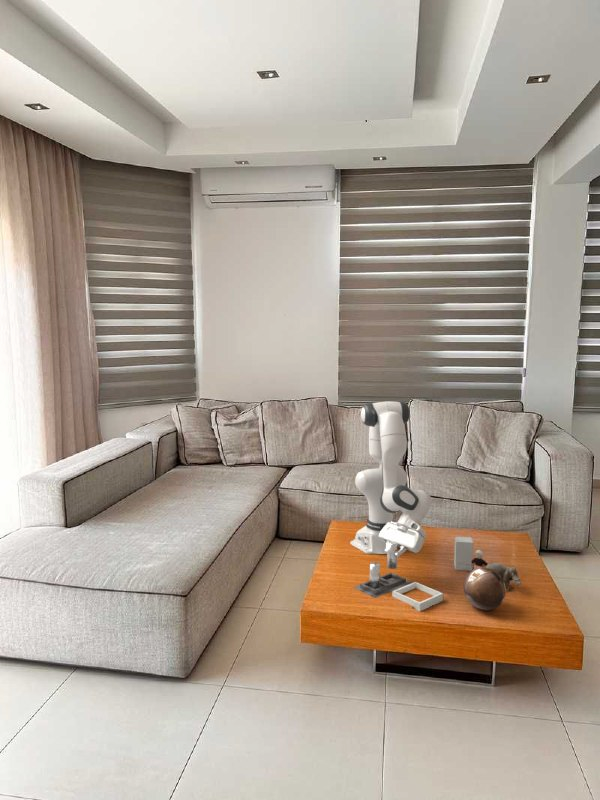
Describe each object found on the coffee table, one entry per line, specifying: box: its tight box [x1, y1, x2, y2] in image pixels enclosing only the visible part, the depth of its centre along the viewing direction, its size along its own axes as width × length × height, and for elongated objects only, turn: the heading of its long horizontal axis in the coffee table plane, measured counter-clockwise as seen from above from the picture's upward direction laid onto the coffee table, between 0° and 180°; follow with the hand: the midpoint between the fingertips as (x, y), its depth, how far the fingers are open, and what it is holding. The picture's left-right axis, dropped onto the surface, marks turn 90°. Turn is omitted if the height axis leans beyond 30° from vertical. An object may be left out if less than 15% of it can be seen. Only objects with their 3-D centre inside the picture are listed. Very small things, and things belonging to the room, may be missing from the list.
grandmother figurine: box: [470, 549, 488, 570], centre depth 248 cm, size 8×4×13 cm, turn 68°
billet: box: [386, 541, 398, 570], centre depth 243 cm, size 4×4×10 cm
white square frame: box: [391, 581, 444, 612], centre depth 230 cm, size 14×14×3 cm
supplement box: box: [453, 536, 474, 572], centre depth 261 cm, size 7×7×13 cm
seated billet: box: [369, 561, 381, 589], centre depth 238 cm, size 4×4×10 cm
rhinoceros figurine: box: [484, 562, 523, 592], centre depth 242 cm, size 8×14×15 cm
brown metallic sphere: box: [463, 567, 507, 611], centre depth 223 cm, size 15×15×15 cm
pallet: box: [353, 572, 414, 599], centre depth 242 cm, size 12×22×2 cm, turn 129°
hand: (391, 554), depth 243 cm, fingers closed on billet, 4 cm apart
